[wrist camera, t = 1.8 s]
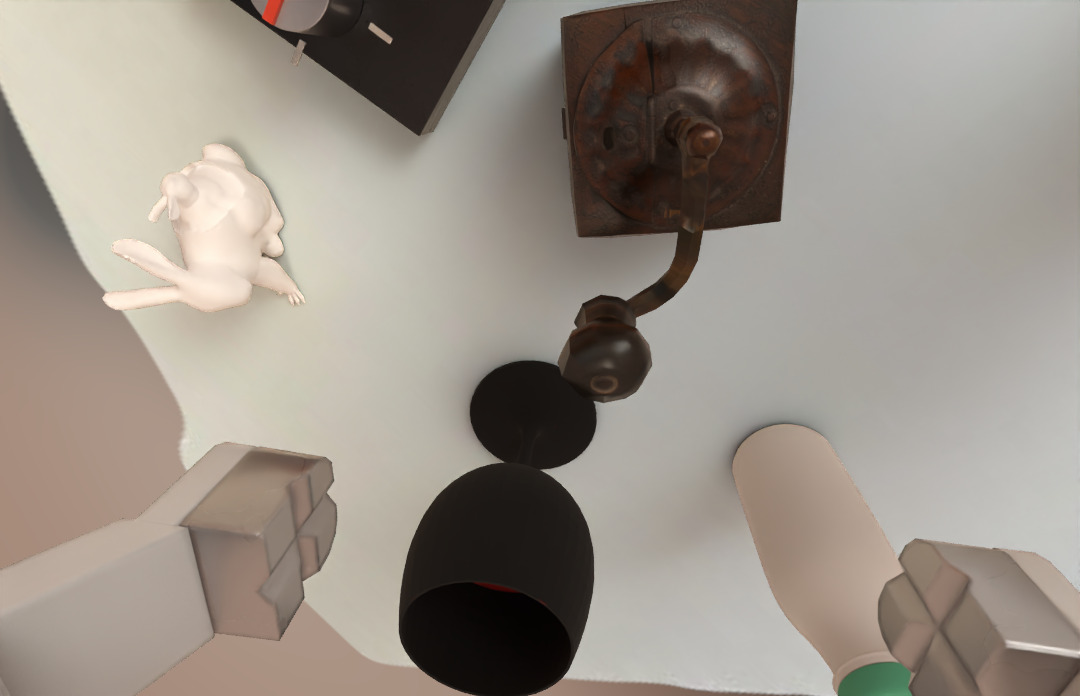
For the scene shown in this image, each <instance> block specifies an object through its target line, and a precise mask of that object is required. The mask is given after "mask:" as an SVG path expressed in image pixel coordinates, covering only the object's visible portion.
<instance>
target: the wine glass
mask: <svg viewBox="0 0 1080 696" xmlns="http://www.w3.org/2000/svg"><path fill="white" fill-rule="evenodd" d="M470 417H471V423H472V426H473V430H474V432H475V434H476V436H477V438H478V439H479V441H480V442H481V443H482V445H483V446H484V447H485V448H486V449H487V450H488V451H489V452H490V453H492V454H493V455H494V456H496V457H497V458H499V459H500V460H502V461H504V462H506V463H496V464H490V465H486V466H483V467H479V468H477V469H475V470H472V471H470V472H467V473H466V474H464V475H463V476H461V477H459V478H458V479H456V480H455V481H453V482H452V483H451V484H450V485H449V486H447V487H446V488H445V489H444V490H443V491H442V492H441V493H440V494H439V495H438V496H437V497H436V498H435V500H434V501H433V503H432V504H431V505H430V507H429V508H428V510H427V511H426V513H425V514H424V516H423V518H422V520H421V521H420V524H419V526H418V528H417V530H416V533H415V535H414V537H413V539H412V542H411V545H410V548H409V551H408V555H407V559H406V564H405V568H404V574H403V579H402V586H401V594H400V606H399V635H400V639H401V643H402V645H403V647H404V649H405V651H406V653H407V654H408V656H409V657H410V659H411V660H412V661H413V662H414V663H415V664H416V665H417V666H418V667H419V668H420V669H421V670H422V671H423V672H425V673H426V674H427V675H429V676H430V677H432V678H433V679H435V680H436V681H438V682H440V683H442V684H444V685H446V686H448V687H450V688H453V689H455V690H458V691H461V692H464V693H468V694H472V695H476V696H528V695H532V694H536V693H538V692H541V691H543V690H546V689H548V688H549V687H551V686H553V685H554V684H556V683H557V682H558V681H559V680H561V679H562V678H563V677H564V675H565V674H566V673H567V672H568V670H569V668H570V666H571V664H572V661H573V659H574V657H575V654H576V652H577V649H578V647H579V644H580V641H581V638H582V635H583V632H584V629H585V625H586V622H587V618H588V614H589V609H590V604H591V599H592V594H593V585H594V554H593V546H592V541H591V537H590V532H589V528H588V525H587V522H586V520H585V518H584V516H583V514H582V512H581V510H580V508H579V506H578V505H577V503H576V502H575V500H574V499H573V497H572V496H571V494H570V493H569V492H568V491H567V490H566V489H565V488H564V487H563V486H562V485H561V484H560V483H559V482H557V481H556V480H555V479H554V478H552V477H551V476H550V475H548V474H546V473H544V472H543V471H541V470H542V469H551V468H555V467H559V466H561V465H564V464H567V463H569V462H570V461H572V460H574V459H575V458H577V457H578V456H579V455H580V454H582V453H583V451H584V450H585V449H586V448H587V447H588V445H589V444H590V442H591V440H592V438H593V436H594V433H595V429H596V409H595V404H594V402H593V401H592V400H587V399H583V398H582V397H581V396H580V395H579V394H578V393H577V392H576V391H575V390H574V388H573V387H572V386H571V385H570V384H569V383H568V382H567V381H566V380H565V379H564V378H563V377H562V375H561V372H560V369H559V367H558V366H556V365H553V364H549V363H545V362H539V361H519V362H513V363H509V364H506V365H503V366H501V367H499V368H497V369H495V370H494V371H492V372H491V373H489V374H488V375H487V376H486V377H485V378H484V379H483V380H482V381H481V382H480V384H479V385H478V387H477V388H476V390H475V393H474V395H473V397H472V401H471V406H470Z"/></svg>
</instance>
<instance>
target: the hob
mask: <svg viewBox="0 0 1080 696" xmlns="http://www.w3.org/2000/svg"><path fill="white" fill-rule="evenodd" d="M231 1H232V2H233V3H235V4H236V5H238V6H239V7H240V8H242V9H243V10H244V11H246V12H247V13H249V14H250V15H251V16H253V17H254V18H256V19H257V20H258V21H260V22H261V23H263V24H264V25H265V26H267V27H268V28H269V29H271V30H272V31H274V32H275V33H276V34H278V35H279V36H281V37H282V38H283V39H285V40H286V41H288V42H289V43H290V44H292V45H293V46H294V47H296V50H295V52H294V55H293V57H292V60H291V62H292V63H293V64H295V65H296V66H297V65H298V63H299V61H300V58H301V56H302V53H304V54H306V55H307V56H308V57H310V58H311V59H313V60H314V61H315V62H317V63H318V64H319V65H321V66H322V67H324V68H325V69H326V70H328V71H329V72H331V73H332V74H333V75H335V76H336V77H338V78H339V79H340V80H342V81H343V82H344V83H346V84H347V85H349V86H350V87H351V88H353V89H354V90H356V91H357V92H358V93H360V94H361V95H363V96H364V97H365V98H367V99H368V100H369V101H371V102H372V103H374V104H375V105H376V106H378V107H379V108H381V109H382V110H383V111H385V112H386V113H388V114H389V115H390V116H392V117H393V118H394V119H396V120H397V121H399V122H400V123H401V124H403V125H404V126H406V127H407V128H408V129H410V130H411V131H413V132H414V133H415V134H417V135H418V136H421V135H424V134H427V133H430V132H433V131H434V129H435V127H436V126H437V124H438V122H439V120H440V118H441V117H442V115H443V113H444V111H445V109H446V108H447V106H448V104H449V102H450V100H451V98H452V97H453V95H454V93H455V91H456V89H457V88H458V86H459V84H460V82H461V80H462V79H463V77H464V75H465V73H466V71H467V70H468V68H469V66H470V64H471V62H472V60H473V59H474V57H475V55H476V53H477V51H478V50H479V48H480V46H481V44H482V42H483V41H484V39H485V37H486V35H487V33H488V32H489V30H490V28H491V26H492V24H493V22H494V21H495V19H496V17H497V15H498V13H499V12H500V10H501V8H502V6H503V4H504V3H505V1H506V0H363V2H362V8H361V12H360V15H359V18H358V19H357V21H356V23H355V24H354V26H353V27H352V28H351V29H350V30H349V31H347V32H346V33H344V34H342V35H339V36H335V37H325V36H318V35H311V34H305V33H298V32H291V31H286V30H283V29H280V28H278V27H276V26H274V25H271V24H270V23H268V22H267V21H266V20H264V19H263V18H262V15H261V14H260V13H259V12H258V10H257V9H256V8H255V6H254V5H253V3H252V1H251V0H231Z"/></svg>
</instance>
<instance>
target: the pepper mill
mask: <svg viewBox="0 0 1080 696" xmlns="http://www.w3.org/2000/svg"><path fill="white" fill-rule="evenodd" d="M797 1H798V0H655V1H647V2H640V3H632V4H624V5H618V6H612V7H606V8H600V9H595V10H589V11H583V12H580V13H577V14H573V15H570V16H567V17H563V18H561V45H562V69H563V87H564V101H565V108H562V122H563V135H564V139H567V144H568V155H569V167H570V181H571V194H572V203H573V210H574V217H575V223H576V230H577V237H590V238H613V237H629V236H640V235H651V234H662V233H674V232H678V239H677V246H676V253H675V257H674V259H673V261H672V264H671V266H670V268H669V270H668V271H667V272H666V273H665V274H664V275H663V276H662V277H661V278H660V279H659V280H658V281H657V282H656V283H654V284H653V285H651V286H650V287H648V288H646V289H645V290H643V291H641V292H640V293H638V294H637V295H635V296H633V297H632V298H630V299H629V300H627V301H625V300H623V299H621V298H619V297H613V296H606V295H600V296H597V297H595V298H593V299H591V300H589V301H587V302H585V303H583V304H582V306H581V308H580V310H579V312H578V314H577V317H576V319H575V321H574V323H575V325H576V327H577V329H575V330H573V331H572V332H571V334H570V336H569V338H568V340H567V342H566V344H565V346H564V348H563V350H562V352H561V354H560V357H559V360H558V365H559V369H560V372H561V375H562V377H563V378H564V379H565V380H566V381H567V382H568V383H569V384H570V385H571V386H572V387H573V388H574V390H575V391H576V392H577V393H578V394H579V395H580V396H581V397H582V398H583V399H587V400H592V401H597V402H602V403H606V402H611V401H615V400H620V399H625V398H627V397H629V396H630V395H632V394H633V393H635V392H636V391H637V390H638V389H639V387H640V386H641V385H642V383H643V381H644V379H645V377H646V376H647V374H648V372H649V370H650V368H651V366H652V360H651V352H650V347H649V344H648V343H647V341H646V340H645V339H644V337H643V336H642V335H641V333H640V332H639V331H638V329H637V328H635V327H636V318H637V317H639V316H641V315H644V314H646V313H648V312H650V311H653V310H655V309H657V308H658V307H660V306H661V305H663V304H664V303H666V302H667V301H668V300H670V299H671V298H673V297H674V296H675V294H676V293H677V292H678V291H679V290H680V289H681V288H682V287H683V285H684V284H685V283H686V282H687V280H688V278H689V277H690V275H691V273H692V271H693V269H694V267H695V265H696V263H697V261H698V256H699V250H700V245H701V239H702V234H703V231H708V230H722V229H727V228H733V227H738V226H746V225H754V224H762V223H770V222H779V221H781V209H782V197H783V186H784V174H785V164H786V153H787V143H788V133H789V123H790V114H791V104H792V94H793V84H794V56H795V27H796V12H797Z"/></svg>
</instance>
